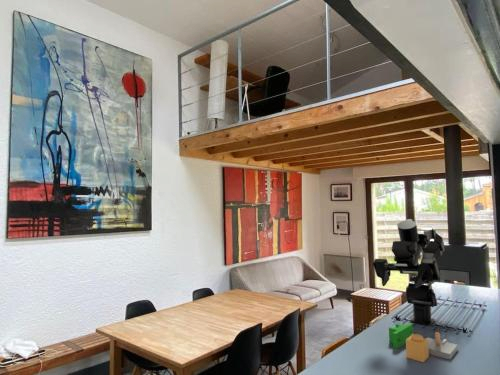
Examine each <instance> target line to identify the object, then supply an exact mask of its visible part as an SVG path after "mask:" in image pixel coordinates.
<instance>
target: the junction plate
mask: <svg viewBox="0 0 500 375" xmlns="http://www.w3.org/2000/svg"><path fill="white" fill-rule="evenodd" d="M434 337H435V338H430V337H426V339H428V350H429V355H431V356H435V357H439V358H442V359H445V360H452V358H453V356H455V355H456V353H457V352H458V351H459V347H458V344H457V343H456V344H455V343H451V342H448V340H447V339H446V338H444V339H443V340H441V332H438V331H435V333H434Z"/></svg>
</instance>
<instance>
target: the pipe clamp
mask: <svg viewBox="0 0 500 375" xmlns="http://www.w3.org/2000/svg"><path fill="white" fill-rule="evenodd" d="M411 334H414V325H413V323H410V322H408V323H407V324H406V325H403V324H399V323H395V327H388V339H389V340H388V341H389V343H391V344H392V348H394V349H396V350H397V349H399V348H401V347H402V346H404V345H406V339H407V338H409V337H410V336H411Z"/></svg>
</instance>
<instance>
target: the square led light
mask: <svg viewBox="0 0 500 375" xmlns="http://www.w3.org/2000/svg"><path fill="white" fill-rule="evenodd" d="M426 338H427V337H426ZM426 338H424V337H423V335H422V334H420V333H413V334H411V336H410V337H409V338H407V339H406V343H405V353H406V354H405V355H406V358H407V359H411V360H415V361H416V362H417V361H418V362H422V363H425V362H426V360H427V359H428V358H430V354H429V350H428V339H426Z"/></svg>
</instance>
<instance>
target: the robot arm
mask: <svg viewBox="0 0 500 375" xmlns="http://www.w3.org/2000/svg"><path fill="white" fill-rule="evenodd" d="M396 226H397V230H398V235H399V240H394V241H392V245H391V252H392V254H393V256H394V257H393V260H394V262H389V261H388V259H386V258H375V259H373V262H372V266H373V269H374V272H375V275H376V277H378V278H380V280H381V285H382V287H385V286H386V285H387V283H388V282H389V280H390V276H391V271H393V272H399V274H400V275H401V274H402V275H412V276H411V277H410V278H409V281H408V285H407V286H406V288H405V296H406V303H407V304H412V310H413V311H412V313H413V314H412V316H413V317H412V318H410V320H409V321H410V322H411V323H417V324H421V325H425V326H431V325H432V324H433V323H434V322H435V321H436V319H434V318H432V308H434V307H438V300H437V296H436V293H435V291H434V289H433V286H432V282H434V281H438V280H439V279H440V277H441V275H440V274H441V273H440V270H439V266H438V263H437V260H438V259H439V258H441V257H442V256H443V252H445V242H444V239H443V237H442V236H441V235H439V234H438V233H437V232H436V231H437V230H436V229H435V228H432V227H430V228H428V227H427V228H426V227H423V228H420V229H418V227H417V226H418V225H417V222H416V221H414V220H413V219H411V218H406V219H405V220H403V221H400V222H398V223H397V225H396ZM421 255H422V257H421ZM419 260H420V263H419ZM395 262H396V263H395ZM414 275H415V276H414Z"/></svg>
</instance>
